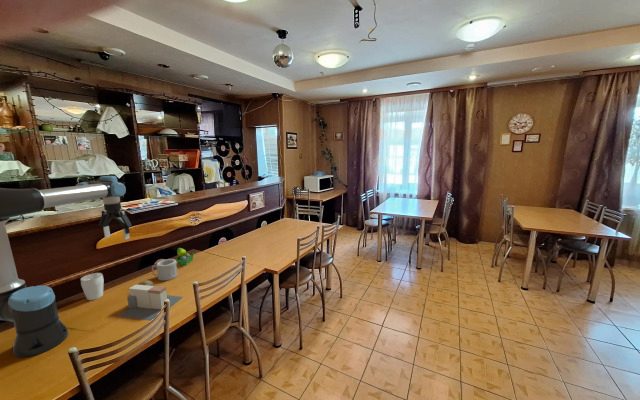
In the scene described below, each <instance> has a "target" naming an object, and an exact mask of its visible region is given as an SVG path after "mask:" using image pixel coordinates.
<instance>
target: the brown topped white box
mask: <svg viewBox="0 0 640 400" xmlns="http://www.w3.org/2000/svg"><path fill="white" fill-rule="evenodd" d="M149 295H150V302H151V308H153V309H162V307H163V305H164V301H165V300H166V299H167V295H168V294H167V286H161V285H154V287H153V288H151V289H149Z"/></svg>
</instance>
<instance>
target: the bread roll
mask: <svg viewBox="0 0 640 400" xmlns="http://www.w3.org/2000/svg"><path fill="white" fill-rule="evenodd" d="M137 285H147V286H155V284H154V282H153V281H152V280H148V279H146V280H142V281H140V282H139V283H137Z"/></svg>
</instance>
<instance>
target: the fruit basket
mask: <svg viewBox="0 0 640 400" xmlns="http://www.w3.org/2000/svg"><path fill="white" fill-rule="evenodd" d="M194 255H195V253H194V252H187V251H186V249H184V248H181V247H179V248H177V256H178V257H177V258H176V259H175V260H176V263H177V264H178V266H187V265H188V264H190V263H191V262H192V261H193V259H194ZM191 260H192V261H191ZM190 261H191V262H190ZM189 262H190V263H189ZM187 263H188V264H187Z"/></svg>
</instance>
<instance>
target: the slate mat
mask: <svg viewBox="0 0 640 400" xmlns="http://www.w3.org/2000/svg"><path fill="white" fill-rule="evenodd" d="M183 298H184V296H178V295H168V294H167V299H169V300H170V308H169V309H171V308H172V307H173V306H175V304H177V303H178V302H180V301H181V300H182V299H183ZM160 311H161V309H153V308H151V309H150V308H141V307H137V308H136V309H135V308H129V307H128V309H126V310H124V311H123V312H121V313H120V314H118V315H117V316H116V317H117V318H118V317H119V318H127V319H136V320H141V321H142V320H143V321H149V322H150V321H151V320H152V319H154V318H155V317H156V316H157V314H158V313H159V312H160ZM151 322H152V321H151Z"/></svg>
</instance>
